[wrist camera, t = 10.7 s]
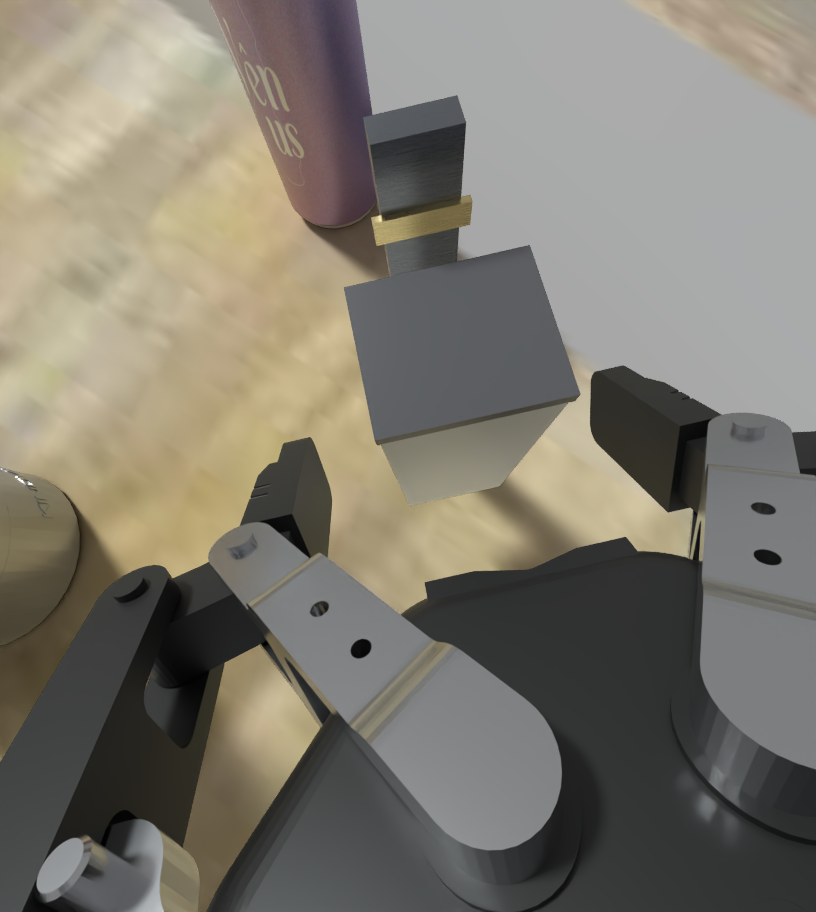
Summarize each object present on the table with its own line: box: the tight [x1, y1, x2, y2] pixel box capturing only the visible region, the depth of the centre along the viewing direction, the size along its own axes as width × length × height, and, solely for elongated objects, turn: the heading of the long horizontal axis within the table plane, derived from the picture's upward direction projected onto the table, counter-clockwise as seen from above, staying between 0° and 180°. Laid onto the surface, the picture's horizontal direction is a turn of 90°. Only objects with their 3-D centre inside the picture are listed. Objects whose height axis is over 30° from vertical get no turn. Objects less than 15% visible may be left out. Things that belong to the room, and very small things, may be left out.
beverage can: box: [209, 0, 377, 228], centre depth 20 cm, size 6×6×15 cm
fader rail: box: [363, 96, 472, 277], centre depth 15 cm, size 2×3×17 cm, turn 102°
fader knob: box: [344, 245, 580, 506], centre depth 12 cm, size 3×4×9 cm
